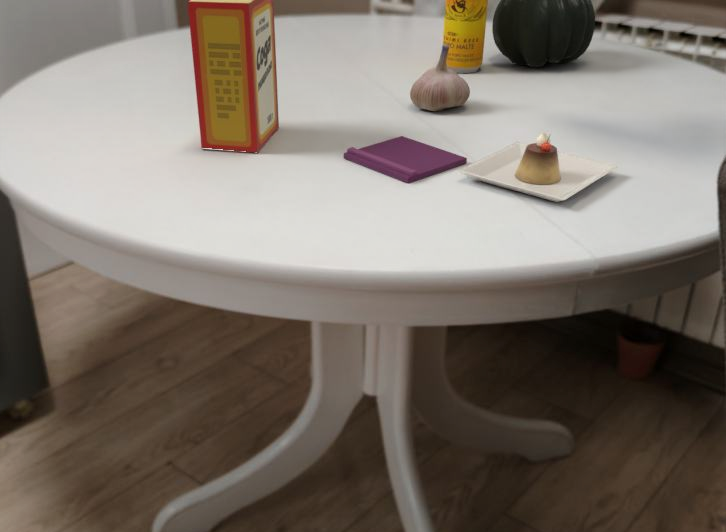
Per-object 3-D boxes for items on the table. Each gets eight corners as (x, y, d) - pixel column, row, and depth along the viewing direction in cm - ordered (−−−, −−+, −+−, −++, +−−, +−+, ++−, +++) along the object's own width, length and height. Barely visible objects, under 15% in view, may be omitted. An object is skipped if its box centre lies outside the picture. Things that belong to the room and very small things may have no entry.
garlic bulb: (474, 103, 106) (480, 40, 102) (458, 118, 101) (463, 52, 96) (420, 97, 109) (423, 35, 105) (401, 111, 103) (404, 46, 99)
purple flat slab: (466, 163, 87) (467, 154, 87) (407, 183, 82) (408, 173, 82) (401, 140, 94) (402, 132, 93) (343, 158, 89) (343, 149, 88)
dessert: (562, 210, 76) (570, 162, 74) (456, 181, 83) (460, 135, 80) (617, 176, 84) (626, 130, 81) (516, 151, 90) (521, 108, 88)
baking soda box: (257, 153, 90) (248, -1, 81) (201, 149, 91) (187, -3, 82) (278, 127, 98) (272, -15, 89) (227, 124, 99) (216, -17, 90)
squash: (620, 35, 116) (595, -59, 118) (524, 46, 113) (500, -51, 115) (576, 83, 130) (555, -2, 132) (490, 93, 127) (469, 6, 129)
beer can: (436, 71, 120) (443, -39, 112) (447, 62, 125) (454, -44, 117) (476, 75, 119) (486, -37, 110) (485, 66, 123) (495, -42, 115)
